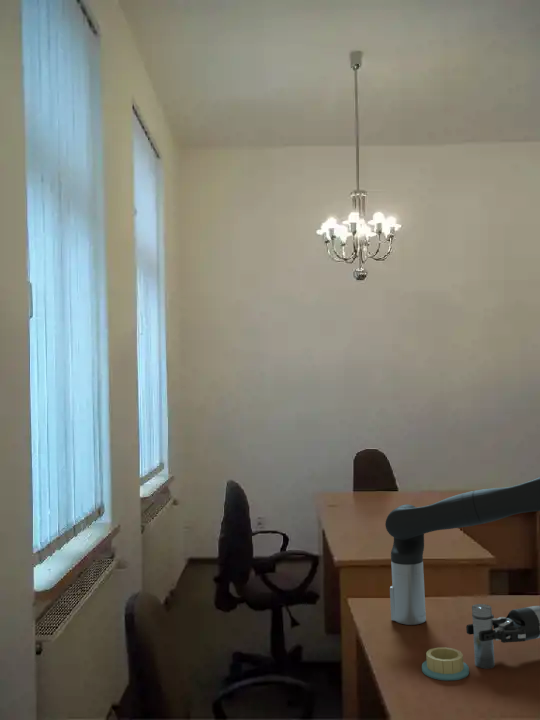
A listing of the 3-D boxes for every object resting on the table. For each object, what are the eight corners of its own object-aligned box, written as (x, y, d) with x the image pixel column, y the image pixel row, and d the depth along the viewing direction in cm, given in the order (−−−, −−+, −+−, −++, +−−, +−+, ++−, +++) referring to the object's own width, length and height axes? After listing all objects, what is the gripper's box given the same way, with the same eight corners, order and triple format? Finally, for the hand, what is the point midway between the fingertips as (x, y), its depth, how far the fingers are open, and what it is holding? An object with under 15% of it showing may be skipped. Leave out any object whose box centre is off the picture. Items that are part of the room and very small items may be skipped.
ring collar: (414, 674, 168) (414, 657, 168) (432, 658, 177) (431, 642, 177) (459, 684, 162) (458, 666, 162) (475, 667, 171) (474, 650, 171)
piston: (472, 666, 171) (469, 608, 172) (478, 659, 175) (475, 602, 176) (491, 670, 169) (488, 611, 169) (497, 663, 173) (494, 605, 173)
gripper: (512, 599, 184) (455, 609, 178) (550, 616, 170) (490, 627, 165) (513, 628, 183) (457, 639, 178) (552, 647, 170) (492, 659, 164)
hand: (473, 633), depth 171 cm, fingers closed on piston, 4 cm apart
